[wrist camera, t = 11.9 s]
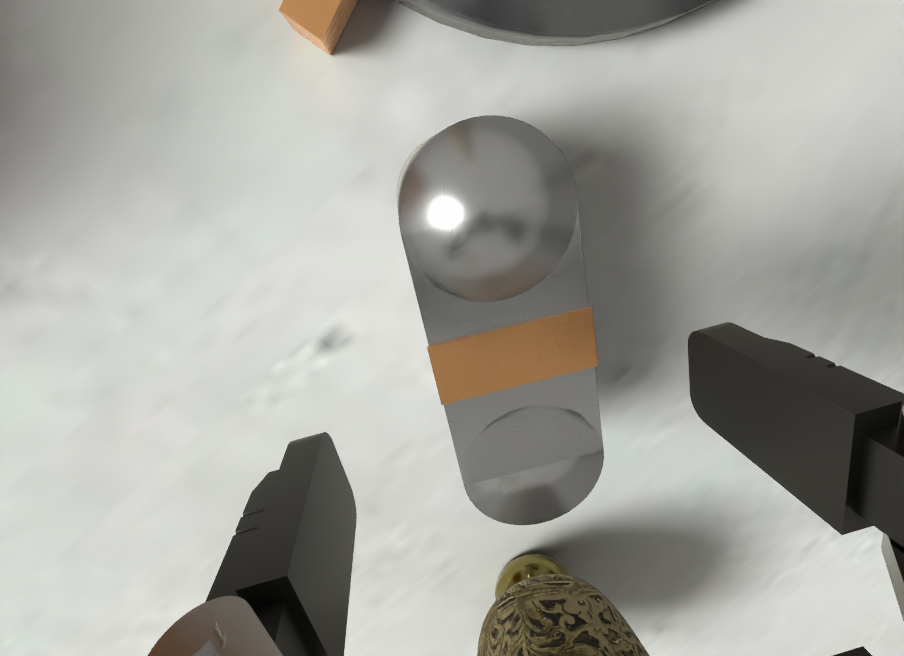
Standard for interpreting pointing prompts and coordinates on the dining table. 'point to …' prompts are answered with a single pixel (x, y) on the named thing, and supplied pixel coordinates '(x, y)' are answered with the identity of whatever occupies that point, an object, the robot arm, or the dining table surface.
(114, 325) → the dining table surface
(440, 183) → the banded metal capsule
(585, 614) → the cup
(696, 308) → the dining table surface
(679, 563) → the dining table surface
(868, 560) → the dining table surface
